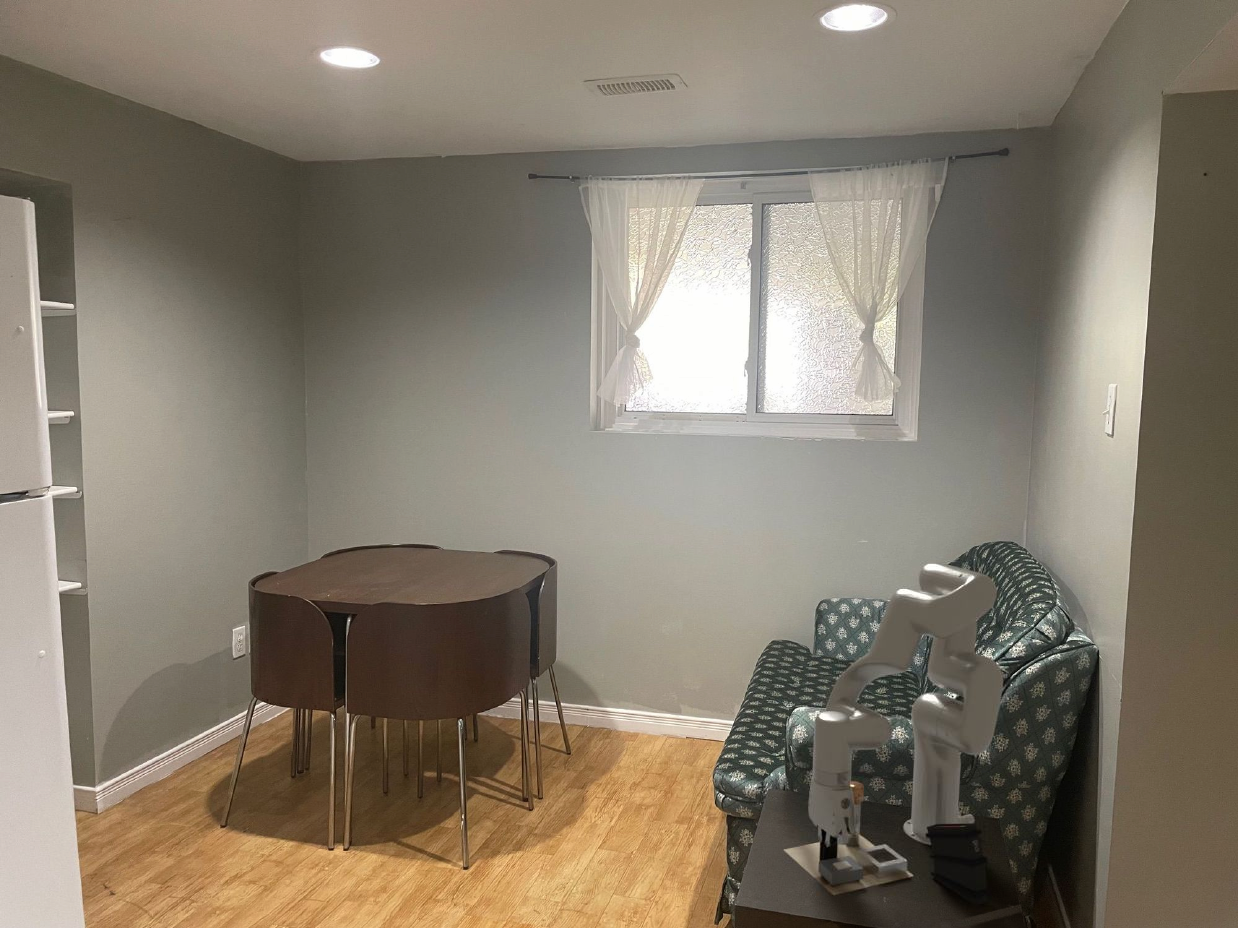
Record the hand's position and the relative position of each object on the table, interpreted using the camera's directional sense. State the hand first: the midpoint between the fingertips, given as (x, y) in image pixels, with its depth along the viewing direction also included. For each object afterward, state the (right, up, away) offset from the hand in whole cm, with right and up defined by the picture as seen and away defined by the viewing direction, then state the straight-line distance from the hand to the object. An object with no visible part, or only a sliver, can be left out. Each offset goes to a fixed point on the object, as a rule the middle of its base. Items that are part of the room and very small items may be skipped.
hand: (828, 860), depth 191 cm
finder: (+1, -2, -5) cm, 5 cm away
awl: (+7, 0, +9) cm, 12 cm away
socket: (+11, -1, 0) cm, 11 cm away
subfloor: (+4, -2, +2) cm, 5 cm away
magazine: (+23, -3, -7) cm, 24 cm away
